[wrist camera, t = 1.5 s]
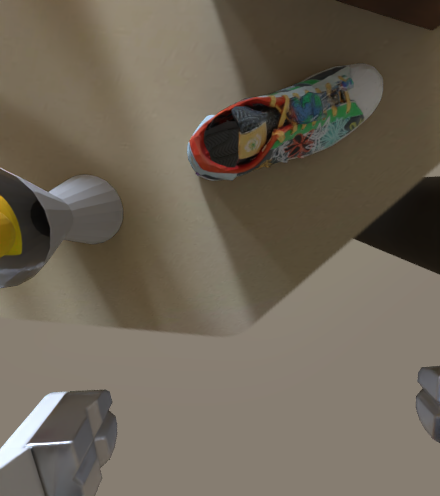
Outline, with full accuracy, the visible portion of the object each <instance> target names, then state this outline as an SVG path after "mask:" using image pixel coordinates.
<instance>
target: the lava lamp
mask: <svg viewBox="0 0 440 496" xmlns="http://www.w3.org/2000/svg"><path fill="white" fill-rule="evenodd" d="M122 221H123V207H122V203H121V199H120V197H119V196H118V194H117V192H116V190H115V189H114V188H113V187H112V186H111V185H110V184H109V183H108V182H107V181H105V180H103V179H101V178H99V177H97V176H92V175H86V174H84V175H78V176H73V177H72V178H70V179H68V180H66V181H65V182H63V183H61V184H60V185H58V186H57V187H55V188H54V189H52V190H51V191H49V192H47V191H45V190H43V189H41V188H39V187H38V186H36V185H34V184H32V183H30V182H28V181H26V180H24V179H22V178H20V177H18V176H16V175H14V174H12V173H10V172H8V171H6V170H4V169H2V168H0V288H5V287H11V286H17V285H19V284H21V283H23V282H25V281H27V280H29V279H31V278H33V277H34V276H35V275H36V274H37V273H38V272H39V271H40V269H41V268H42V267H43V266H44V265H45V264H46V263H47V262H48V260H49V259H50V257H51V256H52V255H53V253H54V252H55V251H56V249H57V248H58V246H59V245H60V244H61V242H62V241H63V240H69V241H76V242H82V243H88V244H97V243H103V242H105V241H107V240H108V239H110V238H112V237H113V236H114V235H115V234H116V233H117V231H118V230H119V228H120V226H121V223H122Z"/></svg>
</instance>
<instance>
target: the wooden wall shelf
mask: <svg viewBox="0 0 440 496" xmlns="http://www.w3.org/2000/svg"><path fill="white" fill-rule="evenodd" d="M337 1H340V2H343V3H346V4H350V5H353V6H356V7H359V8H362V9H366V10H369V11H372V12H375V13H378V14H381V15H385V16H388V17H391V18H394V19H397V20H401V21H404V22H407V23H410V24H413V25H416V26H420V27H423V28H426V29H429V30H434V29H436V28H437V27H438V26H440V0H337Z"/></svg>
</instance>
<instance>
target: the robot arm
mask: <svg viewBox="0 0 440 496" xmlns="http://www.w3.org/2000/svg"><path fill="white" fill-rule="evenodd" d="M418 383H419V384H420V385H421V386H422V388H423V389H422V390H421V391H420V392H419V393H418V395H417V396H416V409H417V413H418V416H419V419H420V421H421V423H422V425H423V427H424V428H425V430H426V431H427V432H428V433H429V435H430V436H431V437H432V438H433V439H434V440H436V441H437V442H439V443H440V366H433V367H422V368H421V369H420V371H419V372H418ZM111 404H112V399H111V395H110V392H109V391H107V390H87V391H70V392H52V393H50V394H48V395H46V396H45V397H44V398H43V399H42V401H41V402H40V403H39V404H38V406H37V407H36V408H35V409H34V410H33V411H32V412H31V414H30V415H29V416H28V417H27V418H26V420H25V421H24V422H23V423H22V424H21V425H20V427H19V428H18V429H17V430H16V431H15V432H14V434H13V435H12V436H11V437H10V438H9V439H8V441H7V442H6V443H5V444H4V445H3V447H2V448H1V449H0V496H95V494H96V492H97V489H98V487H99V484H100V482H101V480H102V474H101V470H100V468H101V467H102V466H103V465H104V464H105V463H106V462H107V461H108V460H110V458H111V455H112V453H113V450H114V448H115V442H116V437H117V422H116V417H115V416H114V415H113V414H112V413H111V412H110V411H109V408H110V406H111Z"/></svg>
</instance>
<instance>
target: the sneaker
mask: <svg viewBox="0 0 440 496" xmlns="http://www.w3.org/2000/svg"><path fill="white" fill-rule="evenodd" d="M382 92H383V78H382V76H381V75H380V73H379V72H378V71H377V69H376V68H374V67H373V66H371V65H369V64H364V63H357V64H352V65H343V66H336V67H332V68H329V69H327V70H324V71H321V72H319V73H316V74H314V75H311V76H310V77H308V78H306V79H305V80H303V81H302V82H300V83H297V84H294V85H293V86H290V87H287V88H284V89H282V90H279V91H276V92H273V93H270V94H268V95H263V96H258V97H251V98H246V99H243V100H241V101H239V102H237V103H235V104H233V105H231V106H229V107H227V108H225V109H224V110H222V111H220V112H219V113H217V114H216V115H209V116H207V117H206V118H205V119H204V120H203V121H202V122H201V123H200V125H199V126H198V127H197V129H196V130H195V132H194V134H193V136H192V137H191V139H190V140H189V143H188V150H187V153H188V160H189V162H190V164H191V166H192V168H193V169H194V171H195V172H196V174H197V176H200V177H202V178H204V179H207V180H211V181H220V180H231V181H233V179H234V178H236V177H237V176H241V175H244V174H246V173H248V172H251V171H254V170H257V169H260V168H262V167H267V168H269V167H270V165H272V164H274V163H277V162H283V163H288V160H290V159H294V158H304V156H309V155H311V154H314V153H317V152H319V151H321V150H324V149H326V148H328V147H331V146H332V145H334V144H335V143H337V142H338V141H340V140H341V139H343V138H344V137H346V136H347V135H348V134H350V133H351V132H352V131H354V130H355V129H356V128H357V127H358V126H360V125H361V124H362V123H363V122H364V121H365V120H366V119H367V118H368V117H369V116H370V115H371V114H372V113H373V111H374V110H375V109H376V108H377V106H378V104H379V102H380V100H381V98H382Z"/></svg>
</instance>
